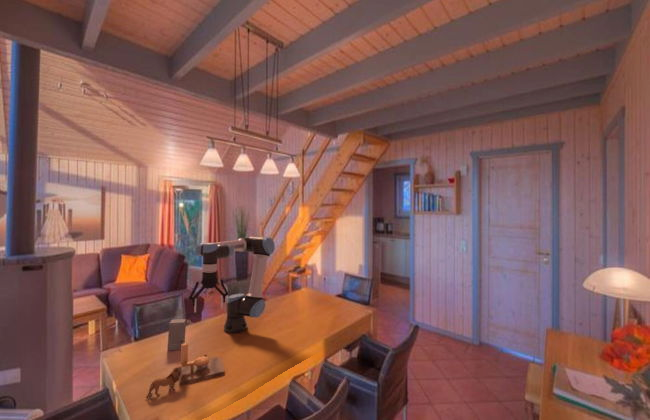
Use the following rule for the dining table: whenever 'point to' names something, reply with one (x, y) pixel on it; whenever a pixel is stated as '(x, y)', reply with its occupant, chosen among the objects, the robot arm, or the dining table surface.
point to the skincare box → (176, 334)
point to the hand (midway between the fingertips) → (208, 310)
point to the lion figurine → (166, 381)
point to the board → (202, 371)
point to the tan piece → (197, 362)
